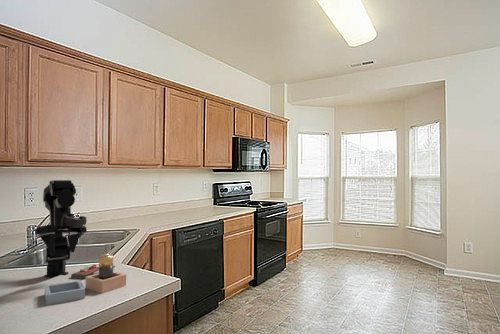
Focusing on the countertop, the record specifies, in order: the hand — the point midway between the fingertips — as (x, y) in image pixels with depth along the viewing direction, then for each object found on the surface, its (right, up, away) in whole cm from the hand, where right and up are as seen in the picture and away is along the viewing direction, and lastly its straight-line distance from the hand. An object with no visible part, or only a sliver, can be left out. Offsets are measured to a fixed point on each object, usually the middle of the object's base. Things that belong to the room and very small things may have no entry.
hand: (62, 253), depth 126 cm
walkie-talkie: (+5, -13, +14) cm, 20 cm away
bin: (+18, -12, -4) cm, 22 cm away
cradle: (+8, -12, -14) cm, 20 cm away
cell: (+18, -11, -4) cm, 21 cm away
